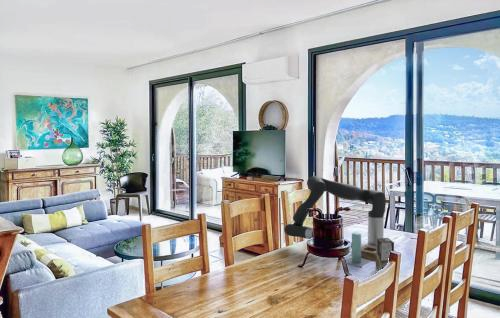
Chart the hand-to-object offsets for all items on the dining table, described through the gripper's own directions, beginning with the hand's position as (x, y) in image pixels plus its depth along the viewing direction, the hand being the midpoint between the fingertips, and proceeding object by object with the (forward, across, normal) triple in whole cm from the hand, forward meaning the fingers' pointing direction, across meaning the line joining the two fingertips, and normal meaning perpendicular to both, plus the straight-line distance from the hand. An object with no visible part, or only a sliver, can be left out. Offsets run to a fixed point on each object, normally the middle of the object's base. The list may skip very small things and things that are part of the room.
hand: (339, 239), depth 219 cm
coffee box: (+28, +3, -11) cm, 30 cm away
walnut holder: (+11, -15, -11) cm, 21 cm away
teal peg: (+10, 0, -10) cm, 15 cm away
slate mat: (+11, 0, -11) cm, 15 cm away
